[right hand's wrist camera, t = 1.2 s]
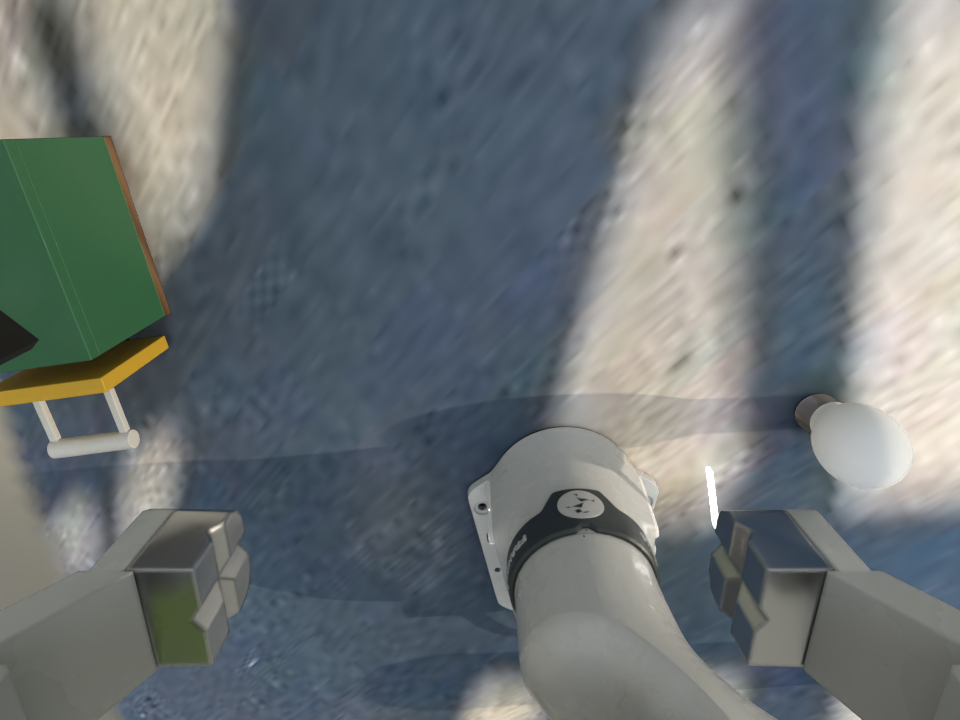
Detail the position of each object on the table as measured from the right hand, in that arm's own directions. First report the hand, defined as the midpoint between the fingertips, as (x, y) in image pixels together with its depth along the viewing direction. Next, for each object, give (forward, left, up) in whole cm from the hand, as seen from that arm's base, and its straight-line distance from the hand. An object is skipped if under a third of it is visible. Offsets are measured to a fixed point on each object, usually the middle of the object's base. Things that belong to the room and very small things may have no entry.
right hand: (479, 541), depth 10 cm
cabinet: (-1, +34, -43) cm, 55 cm away
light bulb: (-20, -31, -43) cm, 57 cm away
